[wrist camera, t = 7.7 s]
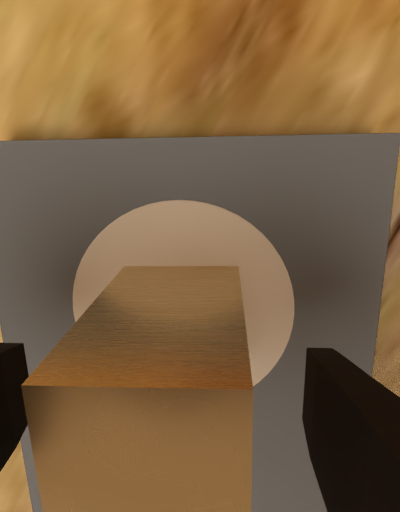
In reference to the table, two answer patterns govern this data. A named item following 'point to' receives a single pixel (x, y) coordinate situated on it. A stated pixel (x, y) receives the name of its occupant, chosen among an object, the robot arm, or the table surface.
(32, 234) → the board
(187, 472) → the brass post
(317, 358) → the robot arm
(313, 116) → the table surface
